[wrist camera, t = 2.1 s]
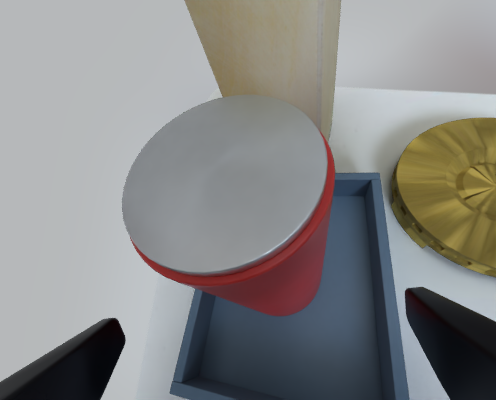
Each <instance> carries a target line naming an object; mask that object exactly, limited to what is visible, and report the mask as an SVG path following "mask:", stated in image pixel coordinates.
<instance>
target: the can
mask: <svg viewBox="0 0 496 400" xmlns="http://www.w3.org/2000/svg"><path fill="white" fill-rule="evenodd" d="M334 183H335V168H334V160H333V156H332V153H331V149H330V147H329V145H328V143H327V141H326V139H325V137H324V136H323V134H322V133H321V132H320V130H319V129H318V128H317V127H316V125H315V124H314V123H313V121H312V120H311V119H310V118H309V117H308V116H307V115H306V114H305V113H304V112H302V111H301V110H300V109H298V108H297V107H295V106H293V105H291V104H290V103H288V102H285V101H282V100H280V99H277V98H273V97H268V96H262V95H234V96H228V97H223V98H219V99H215V100H212V101H209V102H206V103H203V104H201V105H198V106H196V107H194V108H192V109H190V110H188V111H186V112H184V113H183V114H181V115H179V116H178V117H176V118H175V119H173V120H172V121H170V122H169V123H168V124H166V125H165V126H164V127H163V128H162V129H160V130H159V131H158V132H157V133H156V134H155V135H154V136H153V137H152V138H151V139H150V140H149V141H148V143H147V144H146V145H145V147H144V148H143V149H142V150H141V152H140V153H139V155H138V156H137V158H136V159H135V161H134V163H133V165H132V167H131V169H130V171H129V174H128V176H127V179H126V182H125V186H124V191H123V198H122V212H123V219H124V222H125V226H126V229H127V231H128V233H129V235H130V239H131V241H132V243H133V245H134V247H135V249H136V251H137V252H138V253H139V255H140V256H141V257H142V259H143V260H144V261H145V262H146V263H147V264H148V265H149V266H150V267H151V268H152V269H154V270H155V271H156V272H158V273H160V274H161V275H163V276H165V277H166V278H169V279H171V280H174V281H176V282H179V283H182V284H184V285H187V286H190V287H193V288H195V289H198V290H201V291H204V292H206V293H209V294H212V295H215V296H217V297H220V298H223V299H226V300H228V301H231V302H234V303H237V304H239V305H242V306H245V307H248V308H250V309H253V310H256V311H259V312H261V313H264V314H267V315H271V316H288V315H292V314H294V313H297V312H299V311H301V310H302V309H304V308H305V307H306V306H307V305H308V304H309V303H310V302H311V301H312V300H313V298H314V297H315V295H316V293H317V292H318V289H319V286H320V282H321V276H322V269H323V262H324V255H325V248H326V241H327V234H328V227H329V220H330V213H331V206H332V199H333V192H334Z"/></svg>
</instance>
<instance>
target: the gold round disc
mask: <svg viewBox="0 0 496 400" xmlns="http://www.w3.org/2000/svg"><path fill="white" fill-rule="evenodd" d="M392 195H393V199H394V202H393V204H392V205H391V207H392V209H393V212H394V214H395V216H396V218H397V220H398V222H399V223H400V225H401V226H402V227H403V229H404V230H405V232H406V233H407V234H408V235H409V236H410V237H411V238H412V239H413V240H414V241H415V242H416V243H417V244H418V245H419V246H420V247H422V248H424V247H425V246H426V245H428V246H429V247H431V248H432V249H433V250H435V251H436V252H437V253H439V254H441V255H442V256H444V257H446V258H447V259H449V260H451V261H453V262H455V263H457V264H459V265H461V266H463V267H465V268H468V269H471V270H473V271H476V272H479V273H482V274H485V275H489V276H492V277H496V118H469V119H462V120H456V121H452V122H447V123H444V124H441V125H438V126H436V127H433V128H431V129H429V130H427V131H425V132H424V133H422V134H420V135H419V136H418V137H416V138H415V139H414V140H413V141H412V142H411V143H410V144H409V145H408V146H407V147H406V149H405V150H404V152H403V153H402V155H401V157H400V159H399V161H398V163H397V165H396V168H395V170H394V173H393V176H392Z"/></svg>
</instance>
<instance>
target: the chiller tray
mask: <svg viewBox="0 0 496 400" xmlns="http://www.w3.org/2000/svg"><path fill="white" fill-rule="evenodd" d="M173 380H174V381H172V385H171V389H170V394H173V395H176V396H179V397H183V398H186V399H189V400H409V393H408V385H407V377H406V370H405V362H404V355H403V347H402V340H401V332H400V324H399V317H398V309H397V302H396V294H395V286H394V279H393V271H392V264H391V256H390V248H389V241H388V233H387V226H386V218H385V210H384V203H383V195H382V188H381V180H380V173H335V183H334V192H333V199H332V206H331V213H330V220H329V227H328V234H327V241H326V248H325V255H324V262H323V269H322V276H321V282H320V286H319V289H318V292H317V293H316V295H315V297H314V298H313V300H312V301H311V302H310V303H309V304H308V305H307V306H306V307H305V308H304V309H302V310H301V311H299V312H297V313H294V314H292V315H288V316H271V315H267V314H264V313H261V312H259V311H256V310H253V309H250V308H248V307H245V306H242V305H239V304H237V303H234V302H231V301H228V300H226V299H223V298H220V297H217V296H215V295H212V294H209V293H206V292H204V291H201V290H198V289H195V292H194V296H193V300H192V304H191V308H190V313H189V317H188V321H187V325H186V329H185V333H184V337H183V341H182V345H181V349H180V353H179V357H178V361H177V365H176V369H175V373H174V378H173Z"/></svg>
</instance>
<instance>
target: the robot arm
mask: <svg viewBox="0 0 496 400" xmlns="http://www.w3.org/2000/svg"><path fill="white" fill-rule="evenodd" d="M405 304H406V316H407V319H408V322H409V324H410V326H411V328H412V330H413V332H414V333H415V335H416V337H417V339H418V341H419V343H420V345H421V347H422V349H423V351H424V353H425V354H426V356H427V358H428V360H429V362H430V364H431V366H432V368H433V370H434V372H435V374H436V375H437V377H438V379H439V381H440V383H441V385H442V386H443V388H444V390H445V391H446V393H447V395H448V396H449V398H450V400H496V322H495V321H493V320H491V319H489V318H487V317H485V316H483V315H481V314H479V313H477V312H474V311H472V310H470V309H468V308H466V307H464V306H462V305H460V304H458V303H456V302H453V301H451V300H449V299H447V298H445V297H443V296H441V295H439V294H437V293H435V292H432V291H430V290H428V289H426V288H424V287H416V288H408V289H406V290H405ZM124 345H125V335H124V333H123V330H122V328H121V326H120V324H119V321H118V320H117V319H116V318H108V319H103V320H101V321H99V322H98V323H96V324H95V325H93V326H91V327H90V328H88V329H87V330H85V331H83V332H81V333H80V334H78V335H77V336H75V337H74V338H72V339H70V340H68V341H67V342H65V343H63V344H62V345H60V346H58V347H57V348H55V349H54V350H52V351H50V352H49V353H47V354H45V355H44V356H42V357H40V358H39V359H37V360H36V361H34V362H32V363H31V364H29V365H27V366H26V367H24V368H23V369H21V370H19V371H18V372H16V373H14V374H13V375H11V376H10V377H8V378H6V379H4V380H3V381H1V382H0V400H100V399H101V397H102V395H103V393H104V390H105V388H106V386H107V384H108V382H109V379H110V377H111V375H112V372H113V370H114V368H115V366H116V363H117V361H118V359H119V356H120V354H121V352H122V350H123V348H124Z"/></svg>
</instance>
